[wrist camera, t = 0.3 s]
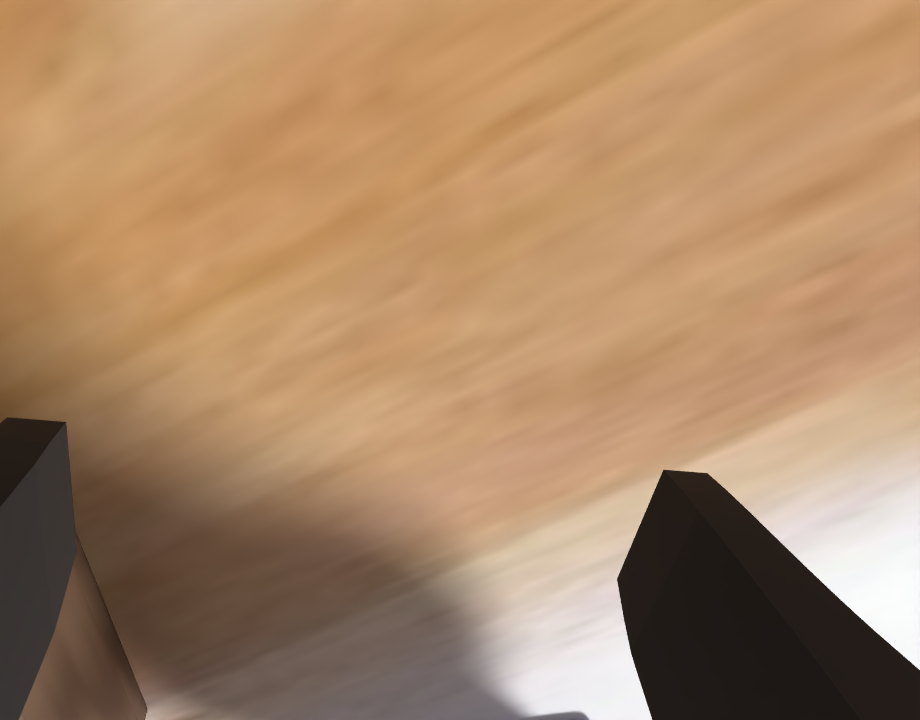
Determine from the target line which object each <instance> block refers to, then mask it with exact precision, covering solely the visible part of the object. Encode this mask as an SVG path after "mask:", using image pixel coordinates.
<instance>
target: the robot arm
mask: <svg viewBox="0 0 920 720" xmlns="http://www.w3.org/2000/svg"><path fill="white" fill-rule="evenodd" d="M76 551H77V549H76V537H75V524H74V512H73V500H72V488H71V476H70V463H69V451H68V439H67V427H66V422H57V421H45V420H32V419H20V418H6V419H5V420H4V421H2V422H1V423H0V720H19V718H20V716H21V713H22V711H23V708H24V706H25V703H26V701H27V699H28V696H29V694H30V691H31V689H32V686H33V684H34V681H35V679H36V677H37V674H38V672H39V669H40V667H41V664H42V662H43V659H44V657H45V655H46V652H47V649H48V647H49V644H50V642H51V639H52V637H53V634H54V631H55V628H56V624H57V621H58V617H59V614H60V610H61V607H62V603H63V600H64V596H65V593H66V589H67V585H68V581H69V578H70V574H71V570H72V566H73V563H74V559H75V555H76ZM617 581H618V587H619V592H620V598H621V604H622V610H623V616H624V621H625V626H626V631H627V635H628V640H629V645H630V650H631V654H632V657H633V661H634V664H635V667H636V670H637V674H638V677H639V680H640V683H641V686H642V689H643V692H644V695H645V698H646V701H647V704H648V707H649V711H650V714H651V717H652V720H920V670H919V669H918V668H916V667H915V666H914V665H913V664H912V663H911V662H910V661H908V660H907V659H906V658H905V657H904V656H903V655H902V654H900V653H899V652H898V651H897V650H896V649H895V648H893V647H892V646H891V645H890V644H889V643H888V642H887V641H885V640H884V639H883V638H882V637H881V636H880V635H879V634H877V633H876V632H875V631H874V630H873V629H872V628H871V627H870V626H868V625H867V624H866V623H865V622H864V621H863V620H862V619H861V618H860V617H859V616H857V615H856V614H855V613H854V612H853V611H852V610H851V609H850V608H849V607H848V606H847V605H845V604H844V603H843V602H842V601H841V600H840V599H839V598H838V597H837V596H836V595H835V594H834V593H833V592H832V591H830V590H829V589H828V588H827V587H826V586H825V585H824V584H823V583H822V582H821V581H820V580H819V579H818V578H817V577H816V576H815V575H814V574H813V573H812V572H811V571H809V570H808V569H807V568H806V567H805V566H804V565H803V564H802V563H801V562H800V561H799V560H798V559H797V558H796V557H795V556H794V555H793V554H792V553H791V552H790V551H789V550H788V549H787V548H786V547H785V546H784V545H783V544H782V543H781V542H780V541H779V540H778V539H777V538H775V537H774V536H773V535H772V534H771V533H770V532H769V531H768V530H767V529H766V528H765V527H764V526H763V525H762V524H761V523H760V522H759V521H758V520H757V519H756V518H755V517H754V516H753V515H752V514H751V513H750V512H749V511H748V510H747V509H746V508H745V507H744V506H743V505H742V504H740V503H739V502H738V501H737V500H736V499H735V498H734V497H733V496H732V495H731V494H730V493H729V492H728V491H727V490H726V489H725V488H723V487H722V486H721V485H720V484H719V483H718V482H717V481H716V480H714V479H713V478H712V477H711V476H710V475H709V474H707V473H697V472H685V471H672V470H663V472H662V475H661V477H660V479H659V482H658V484H657V486H656V489H655V491H654V493H653V496H652V498H651V500H650V503H649V505H648V508H647V510H646V512H645V515H644V517H643V519H642V522H641V524H640V526H639V529H638V531H637V533H636V536H635V538H634V540H633V543H632V545H631V548H630V550H629V552H628V555H627V557H626V559H625V562H624V564H623V566H622V569H621V571H620V573H619V576H618V578H617Z"/></svg>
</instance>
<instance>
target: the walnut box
mask: <svg viewBox="0 0 920 720" xmlns="http://www.w3.org/2000/svg"><path fill="white" fill-rule="evenodd" d="M75 537H76V549H77V551H76V555H75V559H74V563H73V566H72V570H71V574H70V578H69V581H68V585H67V589H66V593H65V596H64V600H63V603H62V607H61V610H60V614H59V617H58V621H57V624H56V628H55V631H54V634H53V637H52V639H51V642H50V644H49V647H48V649H47V652H46V655H45V657H44V659H43V662H42V664H41V667H40V669H39V672H38V674H37V677H36V679H35V681H34V684H33V686H32V689H31V691H30V694H29V696H28V699H27V701H26V703H25V706H24V708H23V711H22V713H21V716H20V718H19V720H145V718H146V713H147V707H146V704H145V702H144V699H143V697H142V694H141V692H140V689H139V687H138V685H137V682H136V680H135V677H134V675H133V672H132V670H131V667H130V665H129V663H128V660H127V658H126V655H125V653H124V650H123V648H122V645H121V643H120V640H119V638H118V636H117V633H116V631H115V628H114V626H113V623H112V621H111V618H110V616H109V614H108V611H107V609H106V606H105V604H104V601H103V599H102V596H101V594H100V591H99V589H98V587H97V584H96V582H95V579H94V577H93V574H92V572H91V569H90V567H89V564H88V562H87V560H86V557H85V555H84V552H83V550H82V547H81V545H80V542H79V540H78V538H77V535H76V533H75Z"/></svg>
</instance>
